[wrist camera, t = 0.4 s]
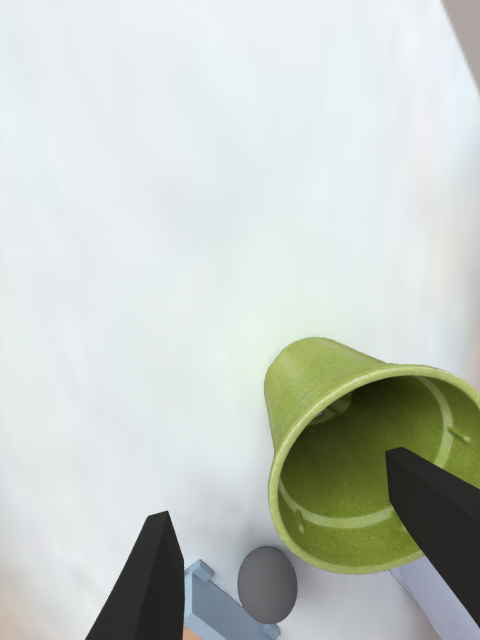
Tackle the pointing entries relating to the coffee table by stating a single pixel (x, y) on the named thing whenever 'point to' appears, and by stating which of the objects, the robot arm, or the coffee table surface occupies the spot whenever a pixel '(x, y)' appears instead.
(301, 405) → the plant pot
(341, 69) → the coffee table surface
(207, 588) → the blue slab with nubs
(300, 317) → the coffee table surface
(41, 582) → the coffee table surface
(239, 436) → the coffee table surface
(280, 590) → the ball
